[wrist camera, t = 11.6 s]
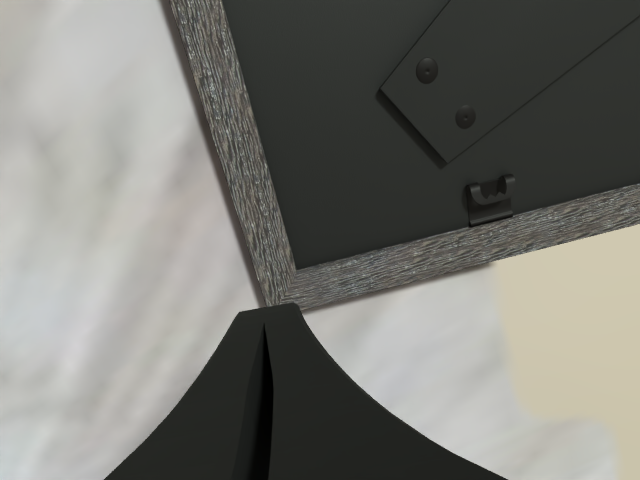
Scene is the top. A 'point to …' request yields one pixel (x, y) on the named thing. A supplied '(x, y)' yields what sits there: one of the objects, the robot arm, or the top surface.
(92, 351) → the top surface
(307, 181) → the picture frame
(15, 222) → the top surface
